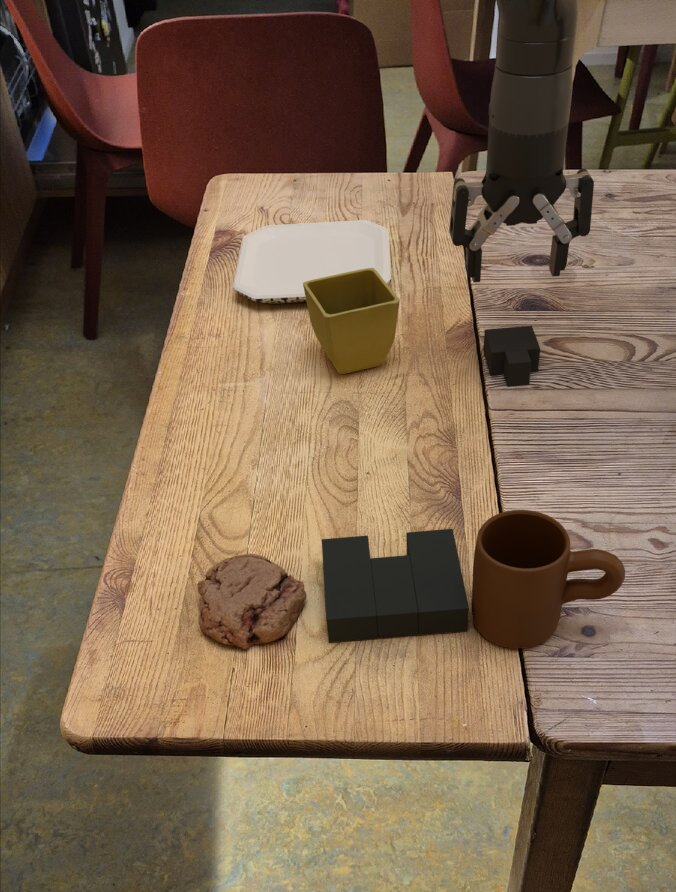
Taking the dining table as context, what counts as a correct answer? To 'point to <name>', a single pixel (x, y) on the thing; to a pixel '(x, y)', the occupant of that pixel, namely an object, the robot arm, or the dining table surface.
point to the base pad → (393, 588)
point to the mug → (531, 577)
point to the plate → (307, 257)
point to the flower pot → (353, 318)
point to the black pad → (512, 353)
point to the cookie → (248, 601)
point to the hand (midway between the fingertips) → (514, 276)
